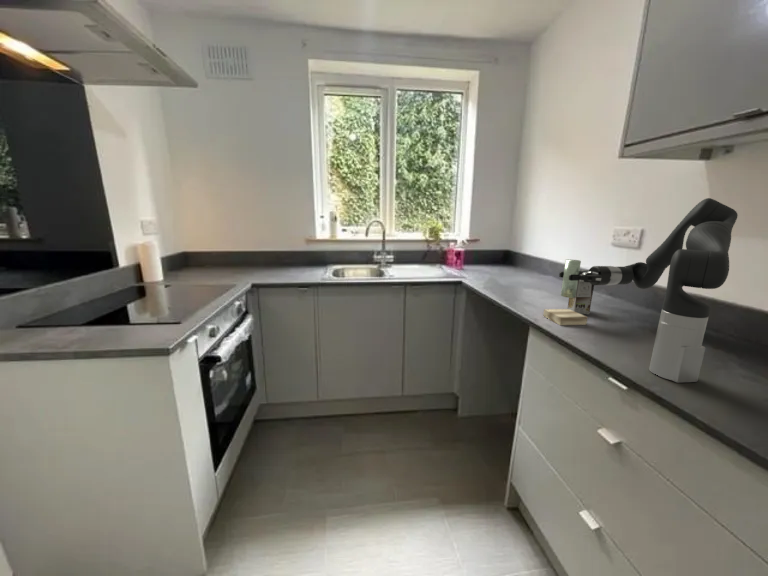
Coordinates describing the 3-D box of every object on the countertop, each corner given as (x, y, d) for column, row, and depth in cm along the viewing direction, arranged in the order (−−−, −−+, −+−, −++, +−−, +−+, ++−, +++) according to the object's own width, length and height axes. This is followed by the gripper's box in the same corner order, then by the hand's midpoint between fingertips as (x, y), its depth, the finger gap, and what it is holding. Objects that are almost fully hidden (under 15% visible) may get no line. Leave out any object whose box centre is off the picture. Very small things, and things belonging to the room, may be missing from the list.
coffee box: (589, 314, 146) (596, 277, 143) (573, 313, 147) (579, 276, 144) (582, 309, 155) (588, 273, 151) (566, 307, 156) (572, 272, 153)
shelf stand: (586, 324, 133) (587, 317, 132) (559, 325, 131) (561, 317, 131) (567, 315, 144) (568, 308, 143) (543, 316, 142) (544, 309, 141)
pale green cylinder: (578, 297, 133) (584, 261, 130) (566, 297, 133) (571, 261, 129) (569, 294, 138) (574, 259, 135) (557, 294, 138) (562, 259, 134)
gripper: (592, 263, 142) (554, 263, 139) (620, 269, 128) (578, 269, 125) (590, 281, 143) (552, 281, 141) (617, 289, 129) (575, 289, 127)
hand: (564, 276), depth 133 cm, fingers closed on pale green cylinder, 5 cm apart
